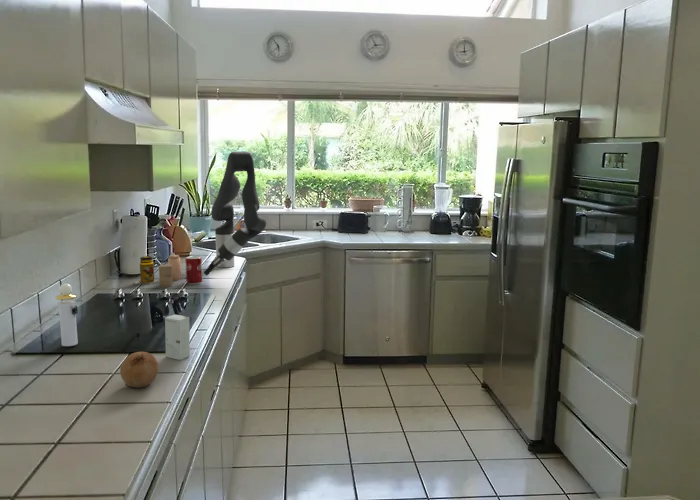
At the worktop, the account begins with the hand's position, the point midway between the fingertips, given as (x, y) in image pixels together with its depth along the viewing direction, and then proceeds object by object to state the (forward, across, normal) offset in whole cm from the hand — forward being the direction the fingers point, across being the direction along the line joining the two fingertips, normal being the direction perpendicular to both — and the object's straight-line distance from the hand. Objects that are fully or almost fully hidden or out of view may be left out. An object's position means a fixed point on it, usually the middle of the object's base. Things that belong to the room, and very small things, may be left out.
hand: (205, 273), depth 277 cm
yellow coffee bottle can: (+23, 0, -17) cm, 29 cm away
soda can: (+7, 0, 0) cm, 7 cm away
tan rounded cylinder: (+15, -8, -9) cm, 20 cm away
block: (+15, +6, -8) cm, 18 cm away
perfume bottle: (+13, +92, -7) cm, 93 cm away
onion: (-11, +121, +17) cm, 123 cm away
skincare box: (-13, +99, +19) cm, 102 cm away
